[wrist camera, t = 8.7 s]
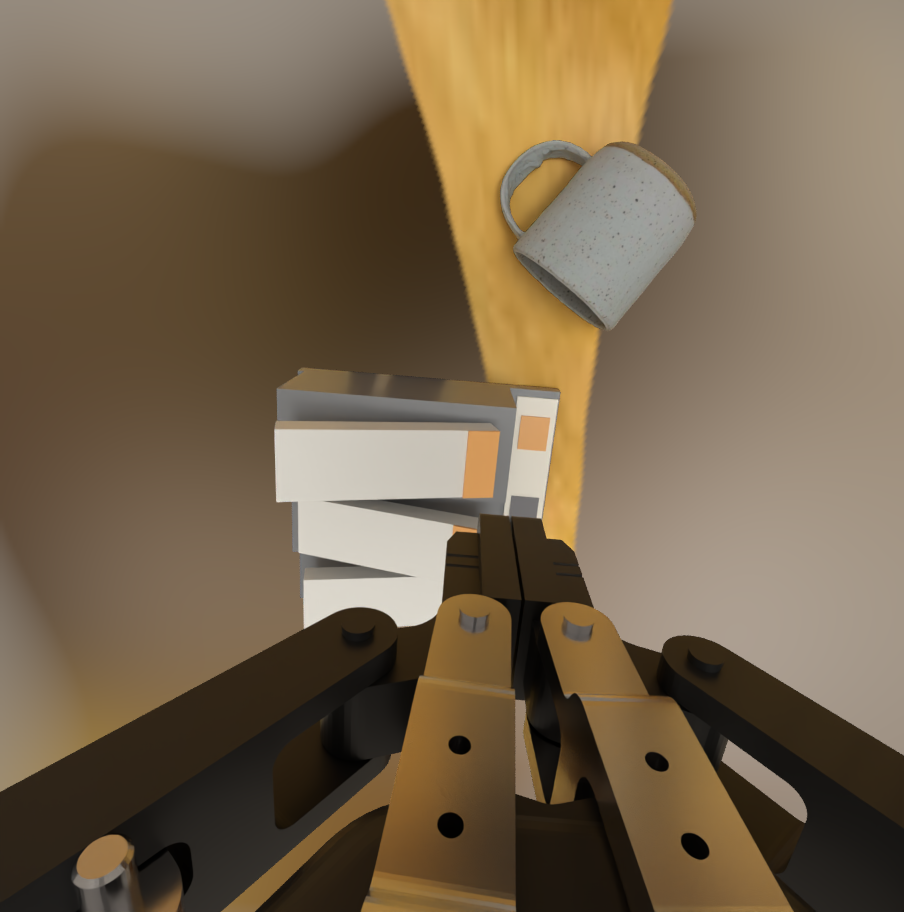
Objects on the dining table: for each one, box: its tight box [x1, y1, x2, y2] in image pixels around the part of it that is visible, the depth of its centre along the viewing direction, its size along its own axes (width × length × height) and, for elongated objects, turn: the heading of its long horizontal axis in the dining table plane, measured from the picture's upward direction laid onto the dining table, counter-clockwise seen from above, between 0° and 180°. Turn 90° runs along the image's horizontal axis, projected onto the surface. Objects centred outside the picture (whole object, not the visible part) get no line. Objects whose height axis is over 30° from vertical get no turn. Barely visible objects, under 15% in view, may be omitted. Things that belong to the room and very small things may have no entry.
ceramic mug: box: [500, 140, 696, 331], centre depth 32 cm, size 11×8×8 cm
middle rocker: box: [298, 500, 478, 582], centre depth 35 cm, size 4×12×2 cm, turn 86°
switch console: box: [277, 368, 560, 605], centre depth 38 cm, size 18×18×8 cm
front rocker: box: [275, 421, 500, 502], centre depth 31 cm, size 4×12×2 cm, turn 85°
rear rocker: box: [303, 566, 444, 629], centre depth 39 cm, size 4×12×2 cm, turn 86°
